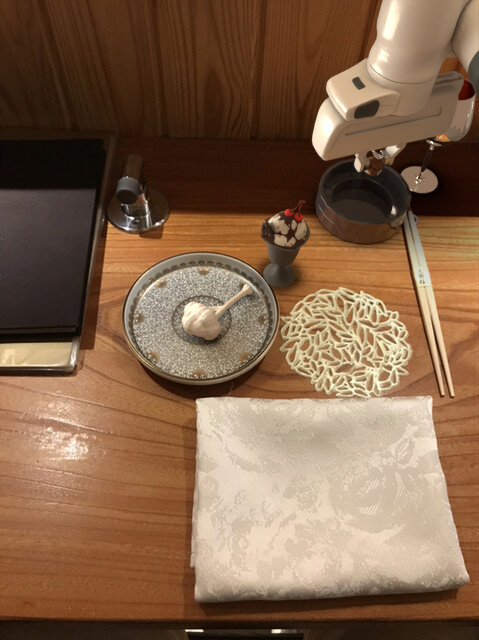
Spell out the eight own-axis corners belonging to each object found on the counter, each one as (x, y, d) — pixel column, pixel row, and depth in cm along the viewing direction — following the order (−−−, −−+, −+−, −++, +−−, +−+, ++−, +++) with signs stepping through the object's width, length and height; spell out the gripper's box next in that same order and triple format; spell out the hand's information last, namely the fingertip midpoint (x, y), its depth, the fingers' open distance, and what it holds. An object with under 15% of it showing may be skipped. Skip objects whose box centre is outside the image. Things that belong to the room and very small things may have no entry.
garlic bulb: (264, 286, 79) (200, 329, 73) (264, 311, 82) (203, 355, 76) (230, 266, 82) (166, 305, 76) (231, 291, 86) (170, 330, 80)
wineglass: (443, 201, 94) (486, 109, 79) (394, 194, 94) (428, 102, 79) (441, 167, 98) (482, 74, 83) (394, 161, 99) (427, 67, 83)
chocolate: (356, 172, 85) (362, 152, 81) (365, 165, 86) (371, 144, 82) (372, 182, 84) (379, 162, 80) (381, 175, 85) (388, 154, 81)
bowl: (377, 173, 97) (385, 151, 93) (417, 234, 90) (427, 212, 86) (301, 191, 94) (305, 168, 90) (336, 255, 87) (342, 233, 83)
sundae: (308, 269, 85) (324, 198, 73) (288, 300, 82) (300, 232, 70) (270, 251, 87) (279, 179, 74) (249, 281, 84) (254, 211, 71)
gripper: (455, 55, 75) (423, 138, 87) (315, 82, 71) (301, 165, 83) (481, 83, 72) (444, 165, 84) (336, 113, 68) (318, 195, 80)
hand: (372, 165), depth 83 cm, fingers closed on chocolate, 2 cm apart
